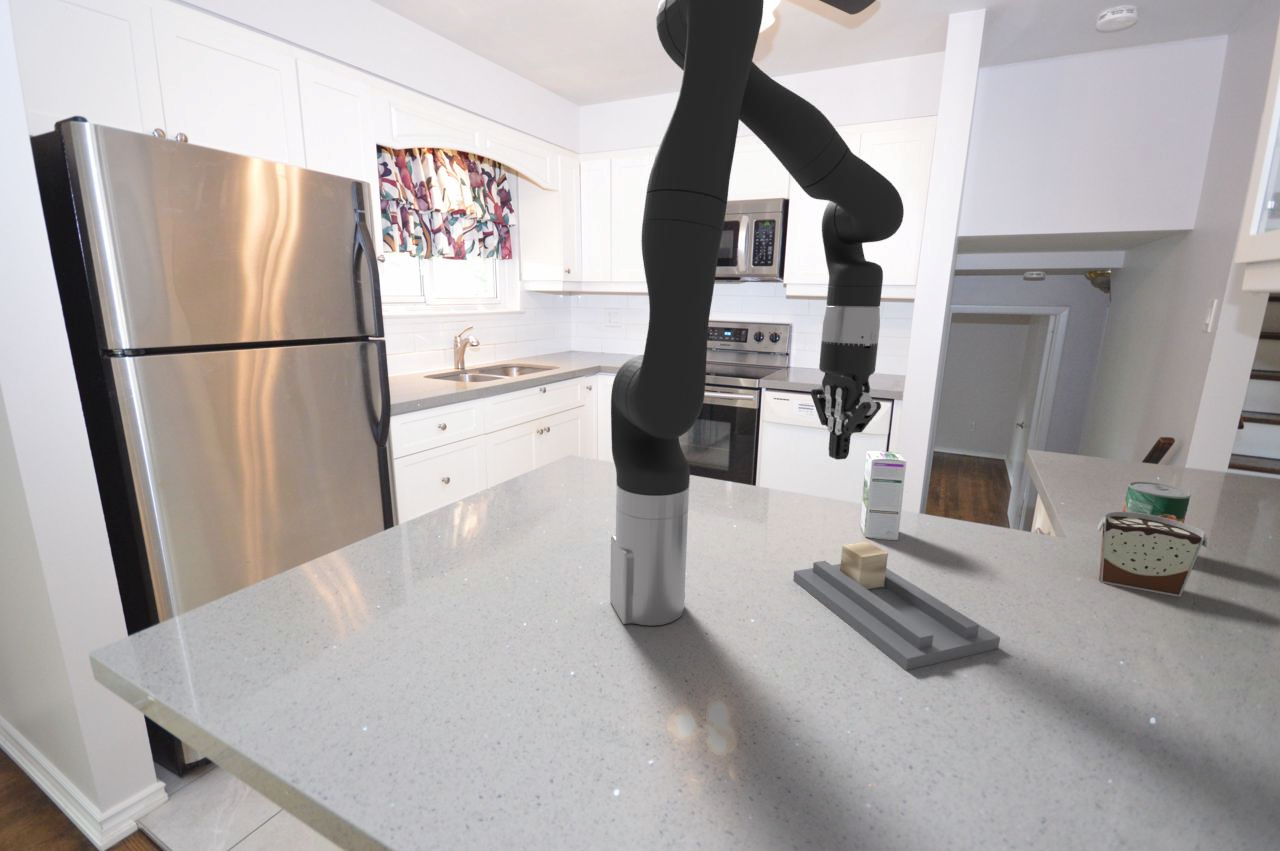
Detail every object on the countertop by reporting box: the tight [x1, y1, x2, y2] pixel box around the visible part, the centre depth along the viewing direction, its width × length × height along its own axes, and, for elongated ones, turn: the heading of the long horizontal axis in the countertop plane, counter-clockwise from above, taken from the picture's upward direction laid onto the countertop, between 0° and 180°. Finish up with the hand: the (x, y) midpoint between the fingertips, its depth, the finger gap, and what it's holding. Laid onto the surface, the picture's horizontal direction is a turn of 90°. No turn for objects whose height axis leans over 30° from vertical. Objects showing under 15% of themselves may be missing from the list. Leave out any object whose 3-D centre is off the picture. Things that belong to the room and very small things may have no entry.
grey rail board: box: [793, 560, 1001, 671], centre depth 76 cm, size 22×14×3 cm, turn 19°
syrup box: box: [859, 450, 907, 541], centre depth 101 cm, size 6×6×14 cm
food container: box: [1097, 511, 1208, 598], centre depth 86 cm, size 12×6×10 cm, turn 65°
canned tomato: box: [1122, 481, 1192, 523], centre depth 97 cm, size 8×8×11 cm
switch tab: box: [839, 541, 889, 589], centre depth 80 cm, size 4×4×5 cm
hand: (838, 457), depth 84 cm, fingers closed
